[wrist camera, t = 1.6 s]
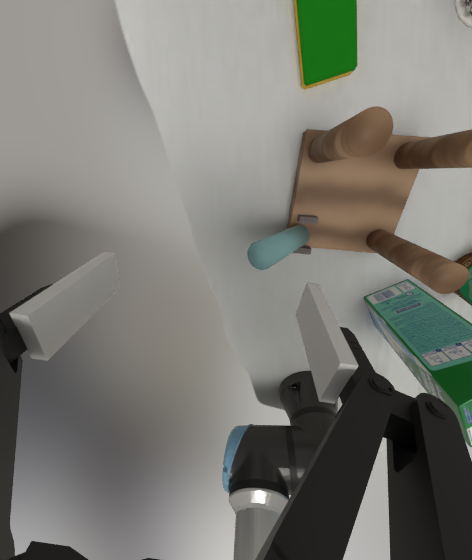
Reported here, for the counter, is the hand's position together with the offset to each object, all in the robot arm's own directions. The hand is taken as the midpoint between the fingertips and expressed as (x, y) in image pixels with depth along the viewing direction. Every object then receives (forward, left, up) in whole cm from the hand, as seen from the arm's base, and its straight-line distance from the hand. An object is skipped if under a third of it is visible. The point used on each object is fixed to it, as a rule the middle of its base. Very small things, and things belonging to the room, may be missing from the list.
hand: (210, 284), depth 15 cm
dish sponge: (+26, -10, -30) cm, 41 cm away
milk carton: (-17, -35, -30) cm, 49 cm away
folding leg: (-2, -11, -25) cm, 27 cm away
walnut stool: (+4, -19, -30) cm, 35 cm away
